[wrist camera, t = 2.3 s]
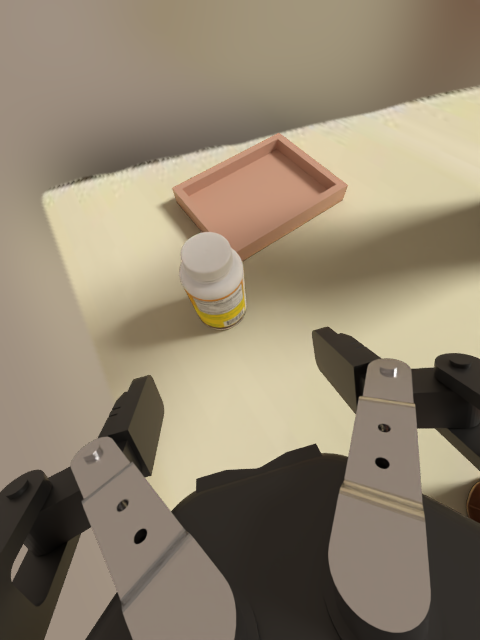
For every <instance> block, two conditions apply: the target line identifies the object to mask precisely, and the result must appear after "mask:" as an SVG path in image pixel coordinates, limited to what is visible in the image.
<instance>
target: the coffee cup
mask: <svg viewBox="0 0 480 640" xmlns="http://www.w3.org/2000/svg"><path fill="white" fill-rule="evenodd" d="M466 506H467V512H468V517H469V518H470V519H472V520H474V521H476V522H478V523H480V481H479V482H477V483H476V484H475V485H474V486H473V487H472V489H471V491H470V493H469V496H468V500H467V504H466Z"/></svg>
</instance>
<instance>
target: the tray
mask: <svg viewBox="0 0 480 640" xmlns="http://www.w3.org/2000/svg"><path fill="white" fill-rule="evenodd" d="M347 186H348V185H347V184H346V183H344V182H343V181H342V180H340V179H339V178H338V177H336V176H335V175H334V174H333V173H331V172H330V171H329V170H327V169H326V168H325V167H323V166H322V165H321V164H319V163H318V162H317V161H315V160H314V159H313V158H311V157H310V156H309V155H308V154H306V153H305V152H304V151H302V150H301V149H300V148H298V147H297V146H296V145H294V144H293V143H292V142H290V141H289V140H288V139H286V138H285V137H284V136H282V135H281V134H280V133H278V134H276V135H274V136H272V137H270V138H268V139H266V140H264V141H262V142H260V143H258V144H256V145H254V146H252V147H251V148H249V149H247V150H245V151H243V152H241V153H239V154H237V155H235V156H233V157H231V158H229V159H227V160H225V161H223V162H221V163H220V164H218V165H216V166H214V167H212V168H210V169H208V170H206V171H204V172H202V173H200V174H198V175H196V176H194V177H192V178H190V179H189V180H187V181H185V182H183V183H181V184H179V185H177V186H175V187H173V188H172V189H173V192H174V195H175V198H176V201H177V203H178V204H179V205H180V206H181V208H182V209H183V210H184V211H185V212H186V214H187V215H188V216H189V217H190V218H191V220H192V221H193V222H194V223H195V224H196V225H197V227H198V228H199V229H200V230H201V231H202V233H203V232H214V233H218V234H220V235H222V236H223V237H225V238H226V239H227V241H228V242H229V244H230V246H231V248H232V249H233V250H235V251H236V252H237V254H238V255H239V256H240V258H241V261H244V260H246V259H247V258H249V257H250V256H252V255H254V254H255V253H257V252H259V251H260V250H262V249H264V248H265V247H267V246H268V245H270V244H272V243H273V242H275V241H277V240H278V239H280V238H282V237H283V236H285V235H286V234H288V233H290V232H291V231H293V230H295V229H296V228H298V227H300V226H301V225H303V224H304V223H306V222H308V221H309V220H311V219H313V218H314V217H316V216H318V215H319V214H321V213H322V212H324V211H326V210H327V209H329V208H331V207H332V206H334V205H336V204H337V203H339V202H340V201H342V200H343V197H344V195H345V192H346V189H347Z"/></svg>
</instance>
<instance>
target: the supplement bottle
mask: <svg viewBox="0 0 480 640" xmlns="http://www.w3.org/2000/svg"><path fill="white" fill-rule="evenodd" d="M181 260H182V262H181V265H180V270H179V276H180V280H181V283H182V285H183V287H184V289H185V291H186V293H187V295H188V297H189V299H190V301H191V302H192V304H193V306H194V308H195V310H196V312H197V314H198V316H199V317H200V319H201V321H202V322H203V323H204V324H205V325H207V326H208V327H210V328H213V329H217V330H224V329H229V328H232V327H234V326H235V325H237V324H238V323H239V322H240V321H241V320H242V319H243V317H244V315H245V312H246V307H247V304H246V292H245V281H244V269H243V264H242V261H241V258H240V256H239V255H238V254H237V252H236V251H235V250H233V249H232V248H231V246H230V244H229V242H228V241H227V239H226V238H225V237H223V236H222V235H220V234H218V233H214V232H203V233H199V234H196V235H194V236H192V237H191V238H189V239H188V240H187V241H186V242H185V244H184V245H183V247H182V250H181Z"/></svg>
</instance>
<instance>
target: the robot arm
mask: <svg viewBox="0 0 480 640" xmlns="http://www.w3.org/2000/svg"><path fill="white" fill-rule="evenodd" d="M312 338H313V346H314V353H315V359H316V363H317V366H318V368H319V370H320V371H321V372H322V374H323V375H324V376H325V377H326V378H327V380H328V381H329V382H330V383H331V385H332V386H333V387H334V388H335V389H336V391H337V392H338V393H339V394H340V396H341V397H342V398H343V399H344V401H345V402H346V403H347V404H348V405H349V407H350V408H351V409H352V410H353V412H354V413H355V414H356V417H355V423H354V428H353V434H352V439H351V445H350V450H349V456H348V457H347V456H343V455H338V454H331V453H321V452H320V451H319V449H318V447H317V445H316V444H313V445H309V446H306V447H303V448H299V449H296V450H293V451H289V452H286V453H285V454H283V455H281V456H279V457H278V458H276V459H274V460H272V461H271V462H269V463H267V464H265V465H264V466H262V467H260V468H256V469H238V470H225V471H221V472H218V473H215V474H211V475H208V476H204V477H201V478H198V479H196V491H194V492H193V493H191V494H190V495H188V496H187V497H186V498H185V499H183V500H182V501H181V502H180V503H179V504H178V505H177V506H176V507H175V508H174V509H173V510H172V511H170V510H169V509H168V507H167V506H166V505H165V503H164V502H163V501H162V499H161V498H160V497H159V496H158V494H157V493H156V492H155V490H154V489H153V488H152V486H151V485H150V484H149V483H148V481H147V480H146V479H145V477H148V476H151V475H152V470H153V465H154V460H155V455H156V450H157V446H158V441H159V436H160V431H161V426H162V422H163V417H164V405H163V401H162V399H161V397H160V394H159V392H158V389H157V387H156V385H155V382H154V380H153V378H152V376H151V375H147V376H144V377H140V378H136V379H134V380H133V381H132V383H131V385H130V387H129V390H128V392H124V393H123V394H122V395H121V396H120V397H119V399H118V400H117V401H116V402H115V404H114V407H113V408H112V411H111V412H110V415H109V418H108V419H107V421H106V423H105V425H104V427H103V429H102V431H101V433H100V435H99V437H98V439H95V440H93V441H91V442H90V443H88V444H87V445H85V446H84V447H83V448H81V449H80V451H78V452H77V454H76V455H75V456H74V458H73V460H72V462H71V466H70V467H68V468H66V469H65V470H63V471H61V472H59V473H57V474H55V475H53V476H51V477H49V478H47V476H46V475H45V473H44V472H43V471H41V470H33V471H30V472H27V473H25V474H23V475H21V476H20V477H18V478H17V479H15V480H14V481H12V482H11V483H10V484H9V485H7V486H6V487H5V488H4V489H3V490H2V491H1V492H0V640H44V638H45V635H46V633H47V629H48V627H49V624H50V621H51V618H52V615H53V612H54V609H55V606H56V604H57V601H58V598H59V595H60V592H61V589H62V587H63V584H64V581H65V578H66V575H67V572H68V569H69V566H70V564H71V561H72V558H73V555H74V552H75V549H76V546H77V543H78V541H79V538H80V535H81V533H82V532H84V531H85V530H87V529H89V528H90V527H92V530H93V532H94V534H95V537H96V540H97V542H98V545H99V547H100V549H101V552H102V555H103V557H104V560H105V562H106V565H107V567H108V570H109V572H110V575H111V577H112V580H113V582H114V585H115V587H116V590H117V593H116V594H115V596H114V597H113V599H112V600H111V602H110V603H109V605H108V606H107V608H106V609H105V611H104V612H103V614H102V615H101V617H100V618H99V620H98V621H97V623H96V624H95V626H94V627H93V629H92V630H91V632H90V633H89V635H88V636H87V638H86V639H85V640H480V523H478V522H476V521H474V520H472V519H470V518H468V517H466V516H464V515H462V514H460V513H459V512H457V511H455V510H453V509H451V508H449V507H447V506H445V505H443V504H441V503H439V502H437V501H435V500H433V499H431V498H430V497H428V496H426V495H424V494H422V489H421V476H420V462H419V449H418V435H417V428H435V429H436V430H437V431H438V432H439V433H440V434H441V435H442V436H444V437H445V438H446V439H447V440H448V441H449V442H450V443H451V444H452V445H453V446H454V447H455V448H456V449H457V450H458V451H459V452H460V453H461V454H462V455H463V456H465V457H466V458H467V459H468V460H469V461H470V462H471V463H472V464H473V465H474V466H475V467H476V468H477V469H478V470H479V471H480V359H478V358H476V357H473V356H470V355H466V354H459V353H449V354H443V355H440V356H438V357H437V358H436V359H435V364H434V368H419V369H411V368H410V367H409V366H408V365H407V364H406V363H404V362H402V361H399V360H396V359H389V358H384V359H381V358H380V357H379V356H377V355H376V354H375V353H373V352H372V351H371V350H369V349H368V348H367V347H364V345H362V344H361V343H360V342H358V341H357V340H356V339H354V338H353V337H352V336H349V335H346V334H343V333H340V334H337V333H336V332H334V331H333V330H332V329H331V328H329V327H324V328H321V329H317V330H313V331H312ZM23 544H24V545H25V546H26V547H27V548H28V552H27V554H26V556H25V557H24V560H23V561H22V564H21V565H20V568H19V570H18V572H17V574H16V576H15V578H14V580H13V582H11V569H12V565H13V563H14V561H15V559H16V557H17V555H18V553H19V551H20V549H21V547H22V545H23Z"/></svg>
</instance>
